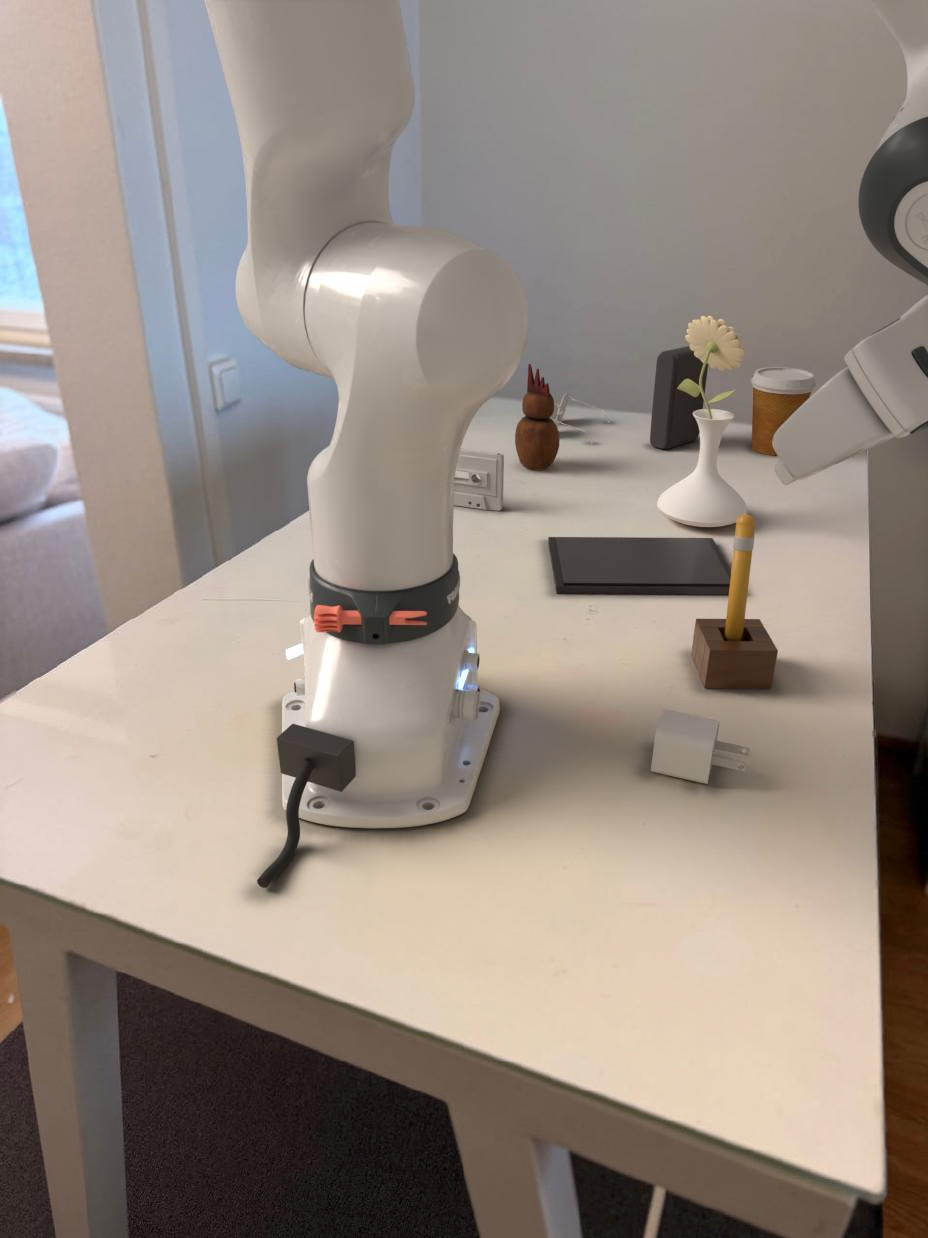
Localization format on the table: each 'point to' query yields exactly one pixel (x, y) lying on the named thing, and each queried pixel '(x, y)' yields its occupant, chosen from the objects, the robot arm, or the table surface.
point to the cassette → (480, 491)
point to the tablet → (638, 566)
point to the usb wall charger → (690, 747)
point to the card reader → (675, 398)
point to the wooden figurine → (537, 426)
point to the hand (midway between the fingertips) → (824, 456)
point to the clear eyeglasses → (562, 410)
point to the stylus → (739, 577)
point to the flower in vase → (707, 436)
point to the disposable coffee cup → (776, 402)
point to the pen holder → (733, 655)
